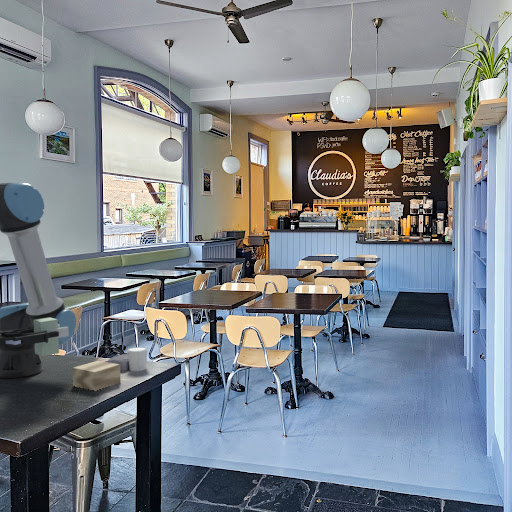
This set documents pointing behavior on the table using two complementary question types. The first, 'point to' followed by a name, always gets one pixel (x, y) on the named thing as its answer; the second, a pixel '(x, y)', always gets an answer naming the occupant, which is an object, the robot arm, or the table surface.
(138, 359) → the white cup
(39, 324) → the sage block
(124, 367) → the stone block
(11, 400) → the table surface
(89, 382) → the oak block
